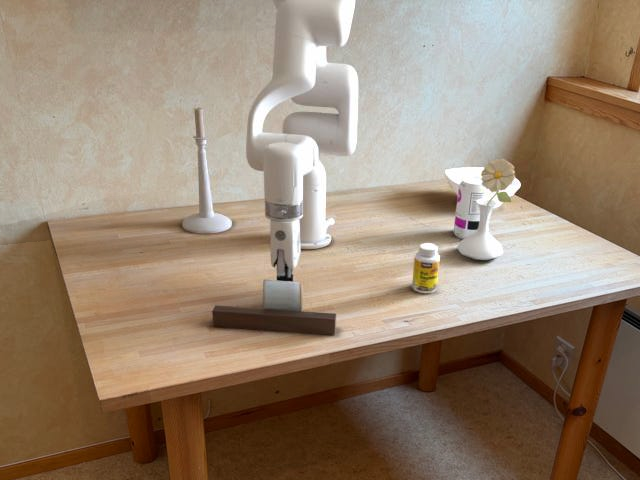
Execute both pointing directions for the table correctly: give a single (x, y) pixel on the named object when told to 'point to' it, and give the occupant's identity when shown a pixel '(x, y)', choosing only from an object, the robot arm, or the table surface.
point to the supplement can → (468, 206)
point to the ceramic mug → (282, 295)
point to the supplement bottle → (426, 268)
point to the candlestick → (204, 190)
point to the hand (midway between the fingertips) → (285, 292)
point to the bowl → (458, 174)
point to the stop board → (274, 320)
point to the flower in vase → (488, 211)
